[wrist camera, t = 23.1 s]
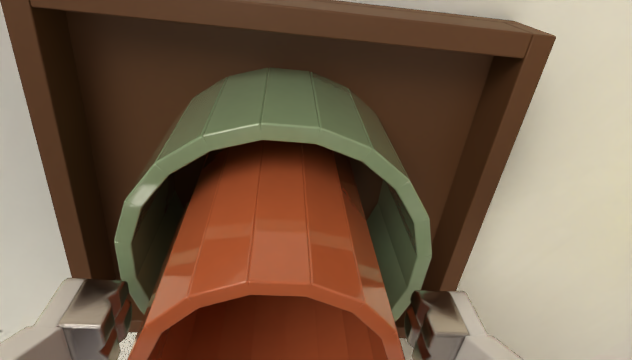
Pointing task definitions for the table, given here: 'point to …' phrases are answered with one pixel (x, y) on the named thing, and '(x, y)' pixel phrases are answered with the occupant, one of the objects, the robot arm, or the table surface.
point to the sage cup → (288, 126)
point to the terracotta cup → (270, 264)
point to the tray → (257, 53)
